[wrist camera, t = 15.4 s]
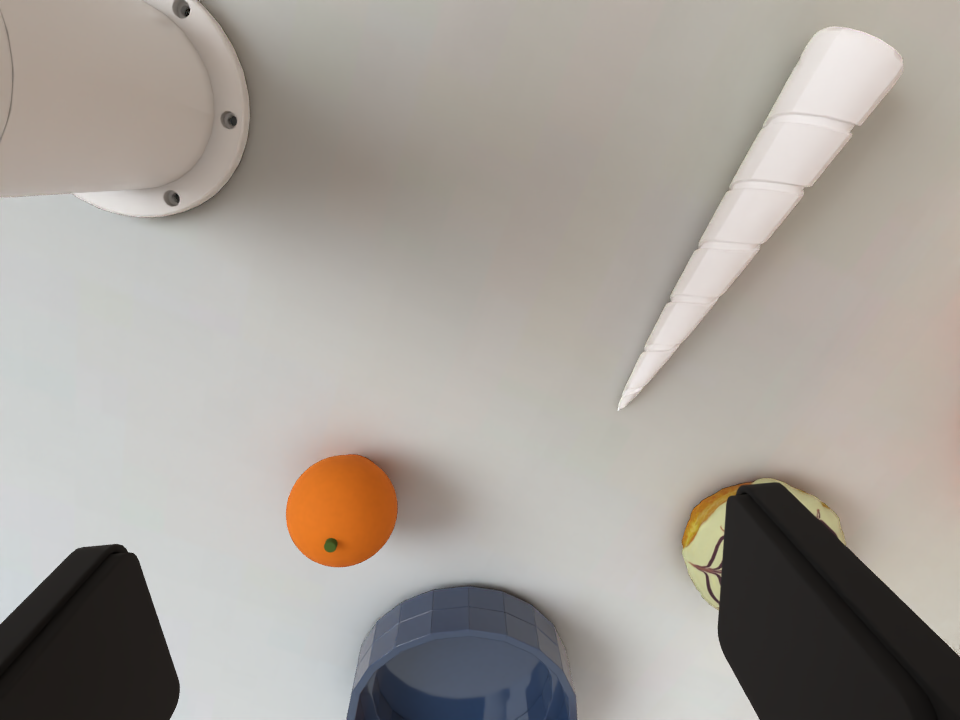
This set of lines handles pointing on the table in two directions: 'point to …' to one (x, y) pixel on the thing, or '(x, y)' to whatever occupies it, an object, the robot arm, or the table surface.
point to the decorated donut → (708, 536)
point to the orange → (341, 510)
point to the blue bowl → (463, 661)
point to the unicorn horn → (775, 176)
